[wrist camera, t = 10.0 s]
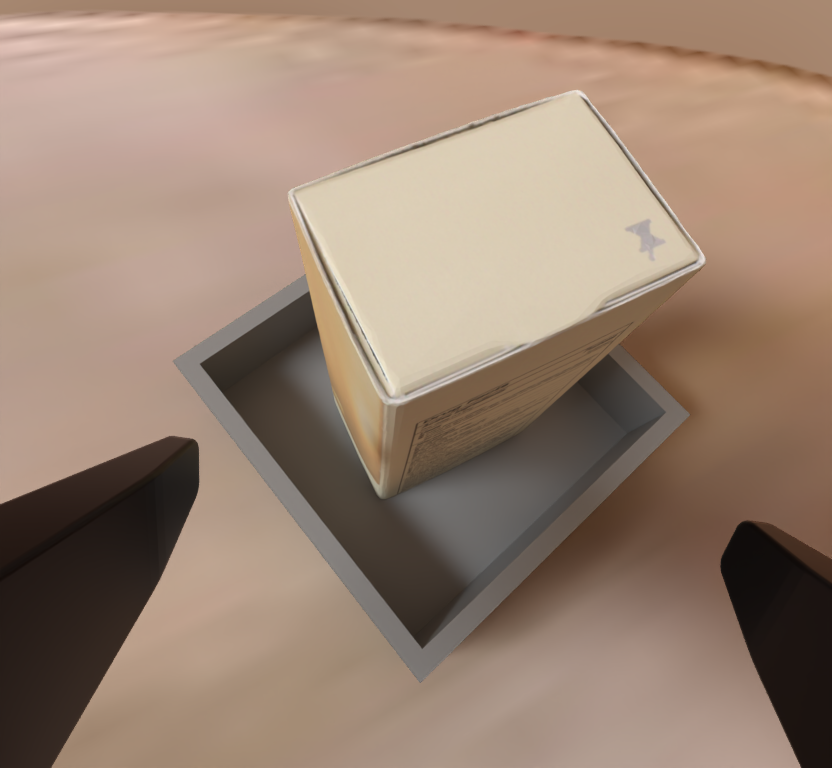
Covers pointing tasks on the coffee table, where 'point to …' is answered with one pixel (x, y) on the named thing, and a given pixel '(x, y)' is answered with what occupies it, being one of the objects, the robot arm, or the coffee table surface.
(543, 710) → the coffee table surface
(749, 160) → the coffee table surface
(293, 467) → the tray
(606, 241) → the skincare box
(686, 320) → the coffee table surface
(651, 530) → the coffee table surface
